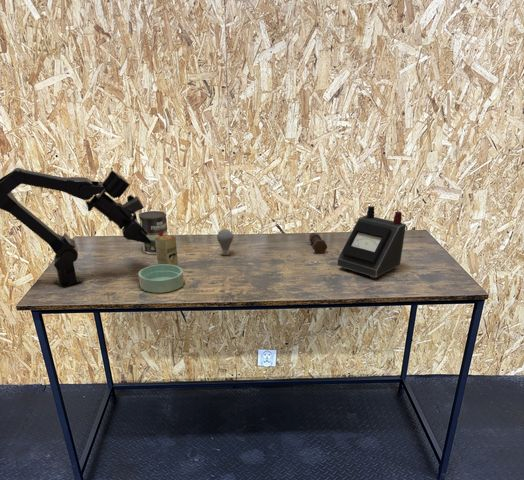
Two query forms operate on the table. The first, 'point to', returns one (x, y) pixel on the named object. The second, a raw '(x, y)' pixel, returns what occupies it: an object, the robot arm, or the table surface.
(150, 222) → the coffee can
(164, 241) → the shoe polish box
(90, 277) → the table surface
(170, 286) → the basin
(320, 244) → the bolt
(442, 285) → the table surface
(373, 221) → the voltmeter
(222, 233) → the light bulb
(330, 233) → the table surface
